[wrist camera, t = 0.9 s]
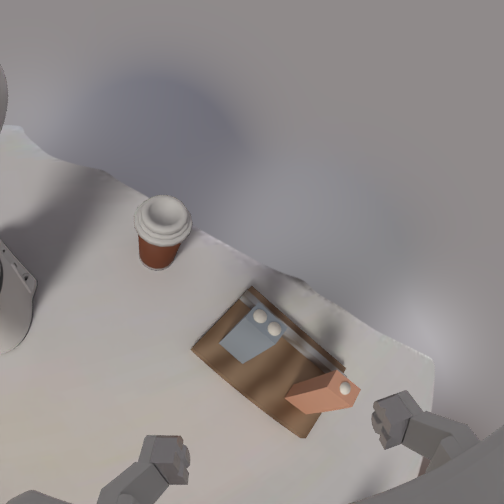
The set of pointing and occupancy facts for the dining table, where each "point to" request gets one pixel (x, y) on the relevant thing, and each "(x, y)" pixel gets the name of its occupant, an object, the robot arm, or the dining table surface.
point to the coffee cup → (161, 230)
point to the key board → (268, 364)
